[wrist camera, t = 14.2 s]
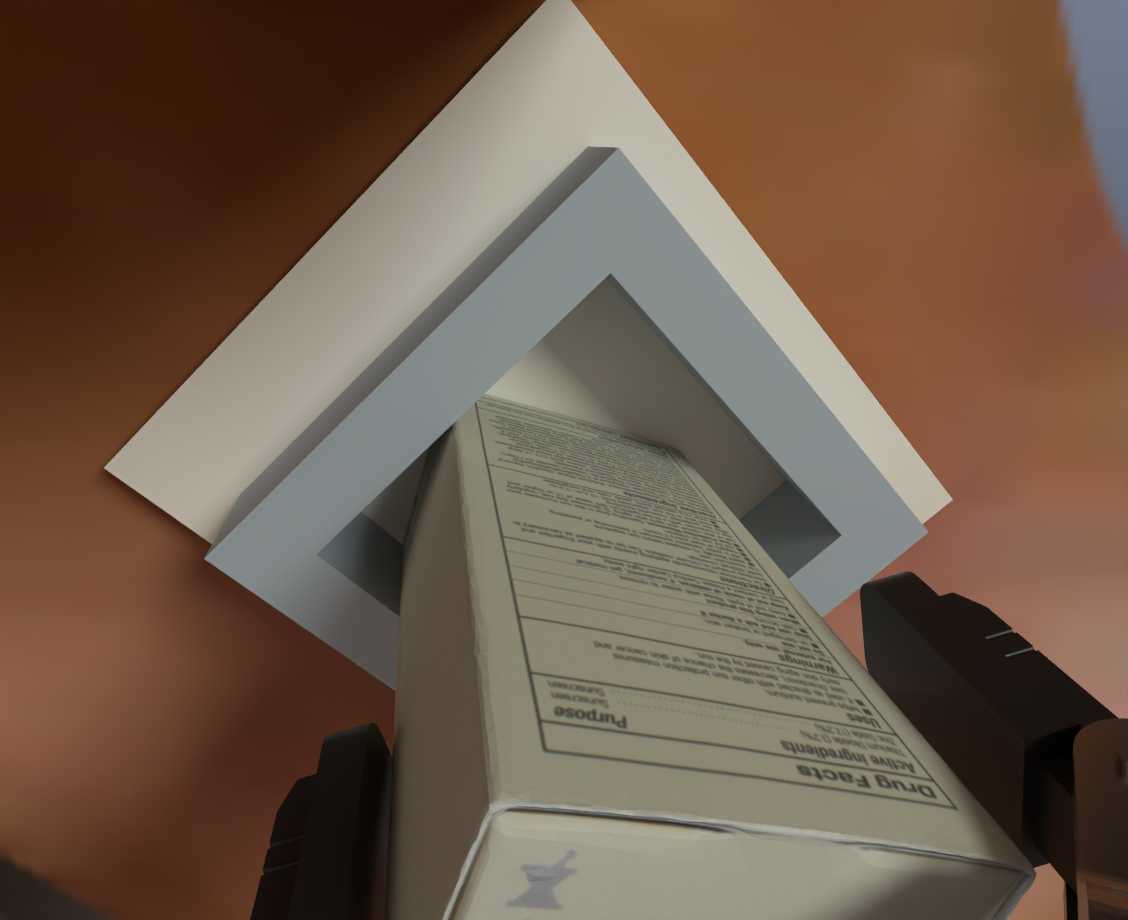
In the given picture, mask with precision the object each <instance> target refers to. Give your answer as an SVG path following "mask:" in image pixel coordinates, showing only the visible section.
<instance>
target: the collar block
mask: <svg viewBox="0 0 1128 920" xmlns="http://www.w3.org/2000/svg"><path fill="white" fill-rule="evenodd" d="M484 394H487V395H491V396H495V397H499V398H503V399H507V400H511V401H515V402H518V403H522V404H526V405H529V406H533V407H537V408H540V409H544V410H547V411H551V412H554V413H558V414H561V415H565V416H569V417H572V418H576V419H580V420H583V421H586V422H590V423H593V424H597V425H600V426H604V427H607V428H611V429H614V430H618V431H621V432H624V433H628V434H631V435H634V436H638V437H641V438H644V439H647V440H650V441H654V442H657V443H660V444H663V445H667V446H670V447H673V448H675V449H678V450H679V451H680V452H681V453H682V454H683V455H684V456H685V458H686V459H687V460H688V461H689V462H690V464H691V465H692V466H693V467H694V468H695V470H696V471H697V472H698V473H699V474H700V475H701V477H702V478H703V479H704V480H705V481H706V482H707V484H708V485H709V486H710V487H711V488H712V490H713V491H714V492H715V493H716V494H717V495H718V497H719V498H720V499H721V500H722V501H723V502H724V504H725V505H726V506H727V507H728V508H729V510H730V511H731V512H732V513H733V514H734V515H735V516H736V518H737V519H738V520H739V521H740V522H741V523H742V525H743V526H744V527H745V528H746V529H747V531H748V532H749V533H750V534H751V535H752V537H753V538H754V539H755V540H756V541H757V543H758V544H759V545H760V546H761V547H762V548H763V550H764V551H765V552H766V553H767V554H768V555H769V557H770V558H771V559H772V560H773V561H774V562H775V564H776V565H777V566H778V567H779V568H780V569H781V571H782V572H783V573H784V574H785V575H786V577H787V578H788V579H789V580H790V581H791V582H792V584H793V585H794V586H795V587H796V588H797V590H798V591H799V592H800V593H801V594H802V595H803V597H804V598H805V599H806V600H807V601H808V603H809V604H810V605H811V606H812V607H813V608H814V609H815V611H816V612H817V613H818V614H819V615H820V616H821V617H822V618H823V617H824V616H825V615H826V614H827V613H829V612H830V611H831V610H832V609H834V608H835V607H836V606H837V605H839V604H840V603H841V602H842V601H844V600H845V599H846V598H847V597H849V596H850V595H851V594H852V593H854V592H855V591H856V590H857V589H859V588H860V587H861V586H862V585H863V584H865V583H866V582H867V581H869V580H870V579H871V578H872V577H874V576H875V575H876V574H877V573H878V572H880V571H881V570H882V569H883V568H885V567H886V566H887V565H888V564H890V563H891V562H892V561H893V560H895V559H896V558H897V557H898V556H900V555H901V554H902V553H903V552H905V551H906V550H907V549H908V548H910V547H911V546H912V545H913V544H915V543H916V542H917V541H918V540H920V539H921V538H922V537H923V536H925V535H926V534H927V533H928V531H927V530H926V528H925V527H924V526H923V525H922V524H923V523H924V522H926V521H927V520H928V519H929V518H931V517H932V516H933V515H934V514H936V513H937V512H938V511H939V510H940V509H942V508H943V507H944V506H945V505H947V504H948V503H949V502H950V501H952V500H953V499H952V498H951V497H950V495H949V494H948V493H947V491H946V490H945V489H944V488H943V486H942V485H941V484H940V482H939V481H938V480H937V478H936V477H935V476H934V474H933V473H932V472H931V471H930V469H929V468H928V467H927V465H926V464H925V463H924V461H923V460H922V459H921V457H920V456H919V455H918V454H917V452H916V451H915V450H914V448H913V447H912V446H911V444H910V443H909V442H908V440H907V439H906V438H905V437H904V435H903V434H902V433H901V431H900V430H899V429H898V427H897V426H896V425H895V423H894V422H893V421H892V420H891V418H890V417H889V416H888V414H887V413H886V412H885V410H884V409H883V408H882V406H881V405H880V404H879V403H878V401H877V400H876V399H875V397H874V396H873V395H872V393H871V392H870V391H869V389H868V388H867V387H866V386H865V384H864V383H863V382H862V380H861V379H860V378H859V376H858V375H857V374H856V372H855V371H854V370H853V369H852V367H851V366H850V365H849V363H848V362H847V361H846V359H845V358H844V357H843V355H842V354H841V353H840V352H839V350H838V349H837V348H836V346H835V345H834V344H833V342H832V341H831V340H830V338H829V337H828V336H827V335H826V333H825V332H824V331H823V329H822V328H821V327H820V325H819V324H818V323H817V321H816V320H815V319H814V318H813V316H812V315H811V314H810V312H809V311H808V310H807V308H806V307H805V306H804V304H803V303H802V302H801V301H800V299H799V298H798V297H797V295H796V294H795V293H794V291H793V290H792V289H791V287H790V286H789V285H788V284H787V282H786V281H785V280H784V278H783V277H782V276H781V274H780V273H779V272H778V270H777V269H776V268H775V267H774V265H773V264H772V263H771V261H770V260H769V259H768V257H767V256H766V255H765V253H764V252H763V251H762V250H761V248H760V247H759V246H758V244H757V243H756V242H755V240H754V239H753V238H752V236H751V235H750V234H749V233H748V231H747V230H746V229H745V227H744V226H743V225H742V223H741V222H740V221H739V219H738V218H737V217H736V216H735V214H734V213H733V212H732V210H731V209H730V208H729V206H728V205H727V204H726V202H725V201H724V200H723V199H722V197H721V196H720V195H719V193H718V192H717V191H716V189H715V188H714V187H713V185H712V184H711V183H710V182H709V180H708V179H707V178H706V176H705V175H704V174H703V172H702V171H701V170H700V168H699V167H698V166H697V165H696V163H695V162H694V161H693V159H692V158H691V157H690V155H689V154H688V153H687V151H686V150H685V149H684V148H683V146H682V145H681V144H680V142H679V141H678V140H677V138H676V137H675V136H674V134H673V133H672V132H671V131H670V129H669V128H668V127H667V125H666V124H665V123H664V121H663V120H662V119H661V117H660V116H659V115H658V114H657V112H656V111H655V110H654V108H653V107H652V106H651V104H650V103H649V102H648V100H647V99H646V98H645V97H644V95H643V94H642V93H641V91H640V90H639V89H638V87H637V86H636V85H635V83H634V82H633V81H632V80H631V78H630V77H629V76H628V74H627V73H626V72H625V70H624V69H623V68H622V66H621V65H620V64H619V63H618V61H617V60H616V59H615V57H614V56H613V55H612V53H611V52H610V51H609V49H608V48H607V47H606V46H605V44H604V43H603V42H602V40H601V39H600V38H599V36H598V35H597V34H596V32H595V31H594V30H593V29H592V27H591V26H590V25H589V23H588V22H587V21H586V19H585V18H584V17H583V15H582V14H581V13H580V12H579V10H578V9H577V8H576V6H575V5H574V4H573V2H572V1H571V0H546V1H545V2H544V3H543V4H542V5H541V6H540V7H539V8H538V9H537V10H536V11H535V13H534V14H533V15H532V16H531V17H530V18H529V19H528V20H527V21H526V22H525V23H524V24H523V25H522V26H521V27H520V28H519V29H518V30H517V32H516V33H515V34H514V35H513V36H512V37H511V38H510V39H509V40H508V41H507V42H506V43H505V44H504V45H503V46H502V47H501V48H500V50H499V51H498V52H497V53H496V54H495V55H494V56H493V57H492V58H491V59H490V60H489V61H488V62H487V63H486V64H485V65H484V66H483V68H482V69H481V70H480V71H479V72H478V73H477V74H476V75H475V76H474V77H473V78H472V79H471V80H470V81H469V82H468V83H467V84H466V85H465V87H464V88H463V89H462V90H461V91H460V92H459V93H458V94H457V95H456V96H455V97H454V98H453V99H452V100H451V101H450V102H449V103H448V105H447V106H446V107H445V108H444V109H443V110H442V111H441V112H440V113H439V114H438V115H437V116H436V117H435V118H434V119H433V120H432V121H431V122H430V124H429V125H428V126H427V127H426V128H425V129H424V130H423V131H422V132H421V133H420V134H419V135H418V136H417V137H416V138H415V139H414V140H413V142H412V143H411V144H410V145H409V146H408V147H407V148H406V149H405V150H404V151H403V152H402V153H401V154H400V155H399V156H398V157H397V158H396V159H395V161H394V162H393V163H392V164H391V165H390V166H389V167H388V168H387V169H386V170H385V171H384V172H383V173H382V174H381V175H380V176H379V177H378V179H377V180H376V181H375V182H374V183H373V184H372V185H371V186H370V187H369V188H368V189H367V190H366V191H365V192H364V193H363V194H362V195H361V196H360V198H359V199H358V200H357V201H356V202H355V203H354V204H353V205H352V206H351V207H350V208H349V209H348V210H347V211H346V212H345V213H344V214H343V216H342V217H341V218H340V219H339V220H338V221H337V222H336V223H335V224H334V225H333V226H332V227H331V228H330V229H329V230H328V231H327V232H326V233H325V235H324V236H323V237H322V238H321V239H320V240H319V241H318V242H317V243H316V244H315V245H314V246H313V247H312V248H311V249H310V250H309V251H308V253H307V254H306V255H305V256H304V257H303V258H302V259H301V260H300V261H299V262H298V263H297V264H296V265H295V266H294V267H293V268H292V269H291V270H290V272H289V273H288V274H287V275H286V276H285V277H284V278H283V279H282V280H281V281H280V282H279V283H278V284H277V285H276V286H275V287H274V288H273V290H272V291H271V292H270V293H269V294H268V295H267V296H266V297H265V298H264V299H263V300H262V301H261V302H260V303H259V304H258V305H257V306H256V307H255V309H254V310H253V311H252V312H251V313H250V314H249V315H248V316H247V317H246V318H245V319H244V320H243V321H242V322H241V323H240V324H239V325H238V327H237V328H236V329H235V330H234V331H233V332H232V333H231V334H230V335H229V336H228V337H227V338H226V339H225V340H224V341H223V342H222V343H221V345H220V346H219V347H218V348H217V349H216V350H215V351H214V352H213V353H212V354H211V355H210V356H209V357H208V358H207V359H206V360H205V361H204V362H203V364H202V365H201V366H200V367H199V368H198V369H197V370H196V371H195V372H194V373H193V374H192V375H191V376H190V377H189V378H188V379H187V380H186V382H185V383H184V384H183V385H182V386H181V387H180V388H179V389H178V390H177V391H176V392H175V393H174V394H173V395H172V396H171V397H170V398H169V399H168V401H167V402H166V403H165V404H164V405H163V406H162V407H161V408H160V409H159V410H158V411H157V412H156V413H155V414H154V415H153V416H152V417H151V419H150V420H149V421H148V422H147V423H146V424H145V425H144V426H143V427H142V428H141V429H140V430H139V431H138V432H137V433H136V434H135V435H134V436H133V438H132V439H131V440H130V441H129V442H128V443H127V444H126V445H125V446H124V447H123V448H122V449H121V450H120V451H119V452H118V453H117V454H116V456H115V457H114V458H113V459H112V460H111V461H110V462H109V463H108V464H107V465H106V466H105V467H104V469H106V470H107V471H109V472H110V473H111V474H113V475H114V476H116V477H117V478H119V479H120V480H121V481H123V482H124V483H126V484H127V485H129V486H130V487H131V488H133V489H134V490H136V491H137V492H138V493H140V494H141V495H143V496H144V497H146V498H147V499H148V500H150V501H151V502H153V503H154V504H156V505H157V506H158V507H160V508H161V509H163V510H164V511H165V512H167V513H168V514H170V515H171V516H173V517H174V518H175V519H177V520H178V521H180V522H181V523H182V524H184V525H185V526H187V527H188V528H190V529H191V530H192V531H194V532H195V533H197V534H198V535H200V536H201V537H202V538H204V539H205V540H207V541H208V542H209V543H211V544H212V545H211V547H210V549H209V551H208V552H207V554H206V556H205V558H204V559H205V560H206V561H208V562H209V563H211V564H212V565H214V566H215V567H217V568H218V569H219V570H221V571H222V572H224V573H225V574H227V575H228V576H230V577H231V578H233V579H234V580H235V581H237V582H238V583H240V584H241V585H243V586H244V587H246V588H247V589H248V590H250V591H251V592H253V593H254V594H256V595H257V596H259V597H260V598H261V599H263V600H264V601H266V602H267V603H269V604H270V605H272V606H273V607H274V608H276V609H277V610H279V611H280V612H282V613H283V614H285V615H286V616H287V617H289V618H290V619H292V620H293V621H295V622H296V623H298V624H299V625H300V626H302V627H303V628H305V629H306V630H308V631H309V632H311V633H312V634H313V635H315V636H316V637H318V638H319V639H321V640H322V641H324V642H325V643H326V644H328V645H329V646H331V647H332V648H334V649H335V650H337V651H338V652H339V653H341V654H342V655H344V656H345V657H347V658H348V659H350V660H351V661H352V662H354V663H355V664H357V665H358V666H360V667H361V668H363V669H364V670H365V671H367V672H368V673H370V674H371V675H373V676H374V677H376V678H377V679H378V680H380V681H381V682H383V683H384V684H386V685H387V686H389V687H390V688H391V689H393V690H394V691H396V671H397V655H398V638H399V621H400V600H401V583H402V567H403V543H404V536H405V532H406V528H407V524H408V520H409V517H410V513H411V509H412V505H413V501H414V497H415V494H416V490H417V487H418V483H419V480H420V476H421V473H422V470H423V467H424V463H425V460H426V457H427V453H428V450H429V447H430V445H431V444H432V443H433V442H434V441H435V440H437V439H438V438H439V437H440V436H441V435H442V434H443V433H444V432H445V431H446V430H447V429H448V428H449V427H450V426H451V425H452V424H453V423H454V422H455V421H456V420H457V419H458V418H460V417H461V416H462V415H463V414H464V413H465V412H466V411H467V410H468V409H469V408H470V407H471V406H472V405H473V404H474V403H475V402H476V401H477V400H478V399H479V398H480V397H481V396H483V395H484Z"/></svg>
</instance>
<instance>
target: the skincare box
mask: <svg viewBox="0 0 1128 920" xmlns="http://www.w3.org/2000/svg"><path fill="white" fill-rule="evenodd" d="M1035 877H1036V873H1035V870H1034V868H1033V866H1032V864H1031V863H1030V862H1029V861H1028V859H1027V858H1026V857H1025V856H1024V855H1023V853H1022V852H1021V851H1020V850H1019V849H1018V847H1017V846H1016V845H1015V844H1014V843H1013V841H1012V840H1011V839H1010V838H1009V837H1008V835H1007V834H1006V833H1005V832H1004V831H1003V830H1002V828H1001V827H1000V826H999V825H998V824H997V823H996V821H995V820H994V819H993V818H992V817H991V816H990V815H989V813H988V812H987V811H986V810H985V809H984V808H983V806H982V805H981V804H980V803H979V802H978V801H977V799H976V798H975V797H974V796H973V795H972V794H971V792H970V791H969V790H968V789H967V788H966V787H965V786H964V784H963V783H962V782H961V781H960V780H959V778H958V777H957V776H956V775H955V774H954V772H953V771H952V770H951V769H950V768H949V766H948V765H947V764H946V763H945V762H944V761H943V759H942V758H941V757H940V756H939V755H938V754H937V752H936V751H935V750H934V749H933V748H932V747H931V745H930V744H929V743H928V742H927V741H926V740H925V738H924V737H923V736H922V735H921V734H920V733H919V731H918V730H917V729H916V728H915V727H914V726H913V724H912V723H911V722H910V721H909V720H908V719H907V717H906V716H905V715H904V714H903V713H902V712H901V710H900V709H899V708H898V707H897V706H896V704H895V703H894V702H893V701H892V700H891V699H890V697H889V696H888V695H887V694H886V693H885V692H884V690H883V689H882V688H881V687H880V686H879V685H878V683H877V682H876V681H875V680H874V679H873V678H872V676H871V675H870V674H869V673H868V672H867V670H866V669H865V668H864V667H863V666H862V665H861V663H860V662H859V661H858V660H857V659H856V657H855V656H854V655H853V654H852V653H851V652H850V650H849V649H848V648H847V647H846V646H845V644H844V643H843V642H842V641H841V640H840V639H839V637H838V636H837V635H836V634H835V633H834V632H833V630H832V629H831V628H830V627H829V626H828V624H827V623H826V622H825V621H824V620H823V619H822V617H821V616H820V615H819V614H818V613H817V612H816V611H815V609H814V608H813V607H812V606H811V605H810V604H809V603H808V601H807V600H806V599H805V598H804V597H803V595H802V594H801V593H800V592H799V591H798V590H797V588H796V587H795V586H794V585H793V584H792V582H791V581H790V580H789V579H788V578H787V577H786V575H785V574H784V573H783V572H782V571H781V569H780V568H779V567H778V566H777V565H776V564H775V562H774V561H773V560H772V559H771V558H770V557H769V555H768V554H767V553H766V552H765V551H764V550H763V548H762V547H761V546H760V545H759V544H758V543H757V541H756V540H755V539H754V538H753V537H752V535H751V534H750V533H749V532H748V531H747V529H746V528H745V527H744V526H743V525H742V523H741V522H740V521H739V520H738V519H737V518H736V516H735V515H734V514H733V513H732V512H731V511H730V510H729V508H728V507H727V506H726V505H725V504H724V502H723V501H722V500H721V499H720V498H719V497H718V495H717V494H716V493H715V492H714V491H713V490H712V488H711V487H710V486H709V485H708V484H707V482H706V481H705V480H704V479H703V478H702V477H701V475H700V474H699V473H698V472H697V471H696V470H695V468H694V467H693V466H692V465H691V464H690V462H689V461H688V460H687V459H686V458H685V456H684V455H683V454H682V453H681V452H680V451H679V450H678V449H675V448H673V447H670V446H667V445H663V444H660V443H657V442H654V441H650V440H647V439H644V438H641V437H638V436H634V435H631V434H628V433H624V432H621V431H618V430H614V429H611V428H607V427H604V426H600V425H597V424H593V423H590V422H586V421H583V420H580V419H576V418H572V417H569V416H565V415H561V414H558V413H554V412H551V411H547V410H544V409H540V408H537V407H533V406H529V405H526V404H522V403H518V402H515V401H511V400H507V399H503V398H499V397H495V396H491V395H487V394H484V395H483V396H481V397H480V398H479V399H478V400H477V401H476V402H475V403H474V404H473V405H472V406H471V407H470V408H469V409H468V410H467V411H466V412H465V413H464V414H463V415H462V416H461V417H460V418H458V419H457V420H456V421H455V422H454V423H453V424H452V425H451V426H450V427H449V428H448V429H447V430H446V431H445V432H444V433H443V434H442V435H441V436H440V437H439V438H438V439H437V440H435V441H434V442H433V443H432V444H431V445H430V447H429V450H428V453H427V457H426V460H425V463H424V467H423V470H422V473H421V476H420V480H419V483H418V487H417V490H416V494H415V497H414V501H413V505H412V509H411V513H410V517H409V520H408V524H407V528H406V532H405V536H404V543H403V567H402V583H401V600H400V621H399V638H398V655H397V671H396V694H395V718H394V734H393V757H392V771H391V797H390V818H389V838H388V859H387V885H386V908H385V920H1007V918H1008V917H1009V915H1010V914H1011V913H1012V911H1013V910H1014V909H1015V907H1016V906H1017V904H1018V902H1019V901H1020V899H1021V898H1022V897H1023V895H1024V894H1025V893H1026V892H1027V891H1028V890H1029V889H1030V888H1031V886H1032V884H1033V882H1034V879H1035Z"/></svg>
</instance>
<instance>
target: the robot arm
mask: <svg viewBox="0 0 1128 920" xmlns="http://www.w3.org/2000/svg"><path fill="white" fill-rule="evenodd" d="M860 600H861V612H862V625H863V638H864V650H865V660H866V665H867V669H868V672H869V674H870V675H871V676H872V678H873V679H874V680H875V681H876V682H877V683H878V685H879V686H880V687H881V688H882V689H883V690H884V692H885V693H886V694H887V695H888V696H889V697H890V699H891V700H892V701H893V702H894V703H895V704H896V706H897V707H898V708H899V709H900V710H901V712H902V713H903V714H904V715H905V716H906V717H907V719H908V720H909V721H910V722H911V723H912V724H913V726H914V727H915V728H916V729H917V730H918V731H919V733H920V734H921V735H922V736H923V737H924V738H925V740H926V741H927V742H928V743H929V744H930V745H931V747H932V748H933V749H934V750H935V751H936V752H937V754H938V755H939V756H940V757H941V758H942V759H943V761H944V762H945V763H946V764H947V765H948V766H949V768H950V769H951V770H952V771H953V772H954V774H955V775H956V776H957V777H958V778H959V780H960V781H961V782H962V783H963V784H964V786H965V787H966V788H967V789H968V790H969V791H970V792H971V794H972V795H973V796H974V797H975V798H976V799H977V801H978V802H979V803H980V804H981V805H982V806H983V808H984V809H985V810H986V811H987V812H988V813H989V815H990V816H991V817H992V818H993V819H994V820H995V821H996V823H997V824H998V825H999V826H1000V827H1001V828H1002V830H1003V831H1004V832H1005V833H1006V834H1007V835H1008V837H1009V838H1010V839H1011V840H1012V841H1013V843H1014V844H1015V845H1016V846H1017V847H1018V849H1019V850H1020V851H1021V852H1022V853H1023V855H1024V856H1025V857H1026V858H1027V859H1028V861H1029V862H1030V863H1031V864H1032V866H1033V868H1035V867H1038V866H1041V865H1044V864H1048V863H1050V864H1051V865H1052V867H1053V868H1054V869H1055V870H1056V871H1057V872H1058V874H1059V875H1060V876H1061V877H1062V878H1063V879H1064V891H1063V901H1064V920H1128V719H1126V718H1118V717H1116V716H1115V715H1114V714H1113V713H1112V712H1110V711H1109V710H1108V709H1107V708H1106V707H1105V706H1103V705H1102V704H1101V703H1100V702H1099V701H1097V700H1096V699H1095V698H1094V697H1093V696H1092V695H1090V694H1089V693H1088V692H1087V691H1086V690H1084V689H1083V688H1082V687H1081V686H1080V685H1079V684H1077V683H1076V682H1075V681H1074V680H1073V679H1071V678H1070V677H1069V676H1068V675H1067V674H1065V673H1064V672H1063V671H1062V670H1061V669H1060V668H1058V667H1057V666H1056V665H1055V664H1054V663H1052V662H1051V661H1050V660H1049V659H1048V658H1047V657H1045V656H1044V655H1043V654H1042V653H1041V652H1039V651H1038V650H1037V651H1035V650H1034V649H1033V646H1032V645H1031V644H1030V643H1029V642H1028V641H1026V640H1025V639H1024V638H1023V637H1022V636H1021V635H1019V634H1018V633H1014V632H1013V631H1012V628H1011V627H1010V626H1009V625H1007V624H1006V623H1005V622H1004V621H1003V620H1002V619H1000V618H999V617H998V616H997V615H996V614H994V613H993V612H992V611H991V610H990V609H989V608H987V607H985V606H983V605H981V604H979V603H976V602H974V601H972V600H969V599H967V598H965V597H962V596H960V595H958V594H955V593H949V594H946V595H942V596H939V595H938V594H937V593H935V592H934V591H933V590H932V589H931V588H930V587H929V586H928V585H927V584H925V583H924V582H923V581H922V580H921V579H920V578H919V577H918V576H916V575H915V574H914V573H912V572H909V571H907V572H903V573H899V574H896V575H892V576H889V577H885V578H882V579H878V580H875V581H871V582H868V583H865V584H863V585H862V587H861V590H860ZM391 771H392V756H391V754H390V752H389V749H388V747H387V745H386V743H385V740H384V738H383V736H382V733H381V731H380V729H379V728H378V726H377V725H376V724H375V723H369V724H366V725H362V726H359V727H355V728H352V729H348V730H345V731H341V732H338V733H334V734H331V735H328V736H326V737H325V739H324V741H323V745H322V750H321V755H320V760H319V765H318V770H317V774H315V775H312V776H308V777H305V778H301V779H298V780H297V781H296V783H295V785H294V786H293V788H292V789H291V791H290V792H289V794H288V795H287V797H286V798H285V800H284V802H283V803H282V805H281V806H280V808H279V809H278V811H277V815H276V819H275V823H274V827H273V831H272V835H271V839H270V849H268V851H267V855H266V859H265V863H264V867H263V871H264V875H263V876H261V879H260V883H259V887H258V891H257V895H256V899H255V903H254V907H253V911H252V915H251V919H250V920H385V908H386V885H387V859H388V838H389V818H390V797H391Z"/></svg>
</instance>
